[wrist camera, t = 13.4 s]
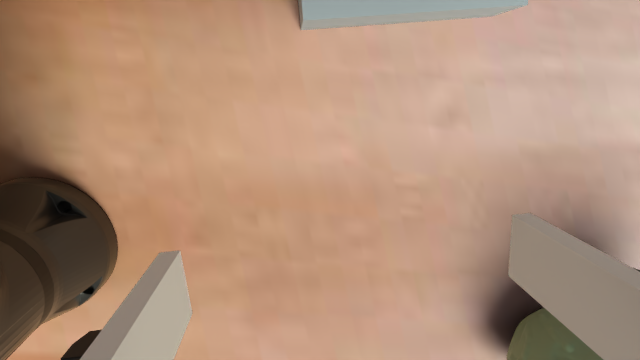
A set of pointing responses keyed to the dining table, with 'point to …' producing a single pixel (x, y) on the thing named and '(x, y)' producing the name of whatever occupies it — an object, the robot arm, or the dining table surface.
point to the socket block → (395, 11)
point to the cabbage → (547, 340)
